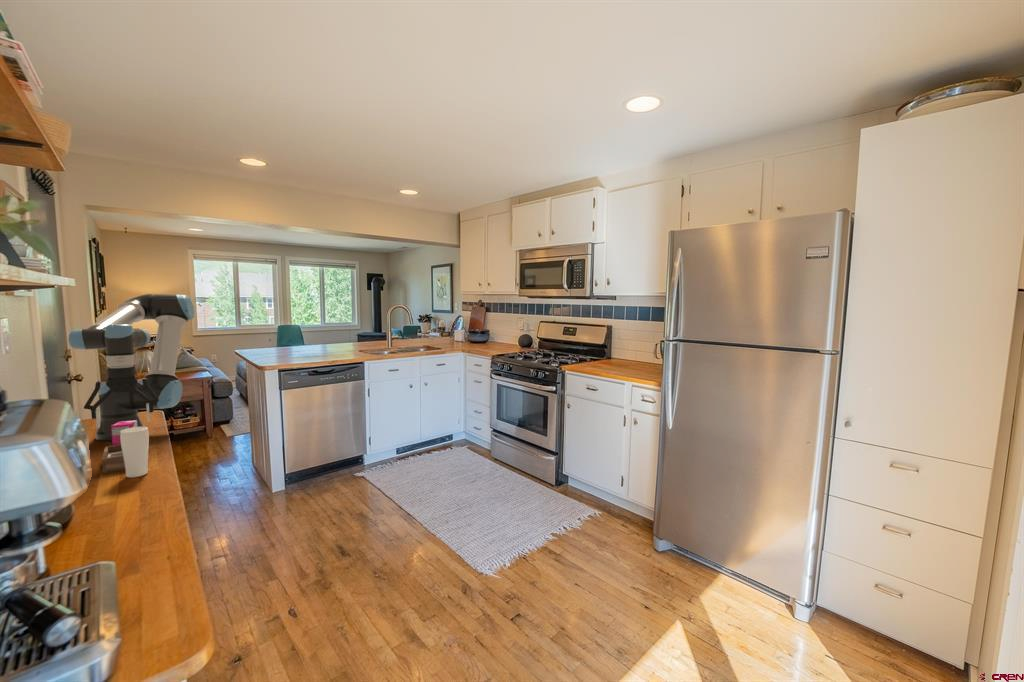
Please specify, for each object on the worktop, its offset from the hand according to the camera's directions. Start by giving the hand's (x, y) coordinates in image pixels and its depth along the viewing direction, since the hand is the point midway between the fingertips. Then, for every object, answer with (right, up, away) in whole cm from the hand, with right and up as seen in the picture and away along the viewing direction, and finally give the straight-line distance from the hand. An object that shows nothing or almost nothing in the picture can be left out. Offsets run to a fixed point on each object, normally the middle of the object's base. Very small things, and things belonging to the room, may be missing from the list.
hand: (124, 424), depth 157 cm
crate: (+9, -12, -9) cm, 18 cm away
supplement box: (0, -11, +1) cm, 11 cm away
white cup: (+22, -13, -19) cm, 32 cm away
